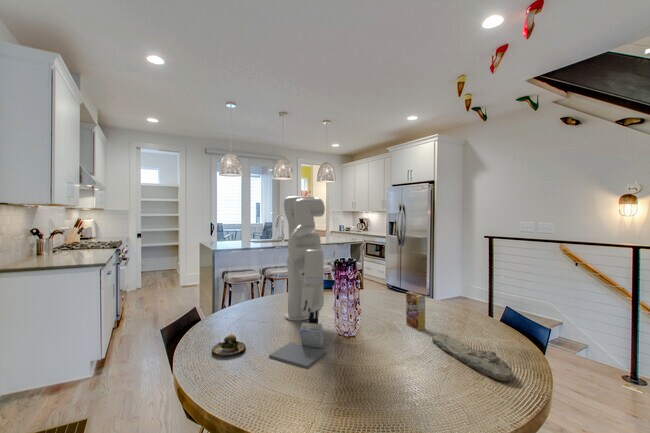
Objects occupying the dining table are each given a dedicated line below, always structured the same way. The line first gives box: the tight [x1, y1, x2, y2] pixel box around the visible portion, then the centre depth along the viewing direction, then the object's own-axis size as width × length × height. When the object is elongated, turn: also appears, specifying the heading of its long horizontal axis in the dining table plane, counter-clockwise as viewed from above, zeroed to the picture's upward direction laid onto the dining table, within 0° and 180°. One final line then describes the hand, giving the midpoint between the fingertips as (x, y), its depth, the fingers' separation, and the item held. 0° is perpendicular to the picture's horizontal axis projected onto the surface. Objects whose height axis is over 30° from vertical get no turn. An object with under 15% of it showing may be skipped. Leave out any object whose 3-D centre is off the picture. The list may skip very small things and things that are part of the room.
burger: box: [211, 328, 247, 356], centre depth 116 cm, size 12×12×8 cm
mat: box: [268, 341, 327, 369], centre depth 113 cm, size 13×16×1 cm
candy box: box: [405, 290, 426, 331], centre depth 143 cm, size 9×4×15 cm, turn 23°
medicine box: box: [299, 322, 324, 349], centre depth 119 cm, size 8×4×9 cm, turn 80°
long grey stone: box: [431, 333, 515, 382], centre depth 112 cm, size 35×5×10 cm
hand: (313, 327), depth 122 cm, fingers closed
